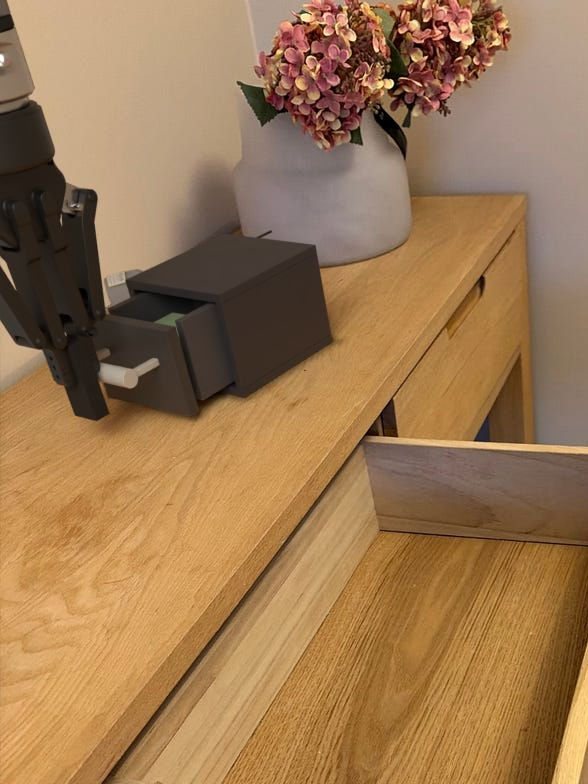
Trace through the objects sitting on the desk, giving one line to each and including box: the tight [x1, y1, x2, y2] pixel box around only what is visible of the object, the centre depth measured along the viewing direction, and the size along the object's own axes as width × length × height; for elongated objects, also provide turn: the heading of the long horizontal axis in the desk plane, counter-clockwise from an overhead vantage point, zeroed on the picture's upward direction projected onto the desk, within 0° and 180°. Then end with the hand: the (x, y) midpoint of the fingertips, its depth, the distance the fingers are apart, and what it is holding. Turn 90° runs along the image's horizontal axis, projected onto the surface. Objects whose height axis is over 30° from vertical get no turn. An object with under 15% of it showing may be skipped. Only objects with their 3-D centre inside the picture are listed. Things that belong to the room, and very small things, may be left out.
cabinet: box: [125, 233, 333, 399], centre depth 95 cm, size 14×12×10 cm
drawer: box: [91, 291, 235, 418], centre depth 89 cm, size 17×10×8 cm, turn 150°
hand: (92, 414), depth 84 cm, fingers closed
